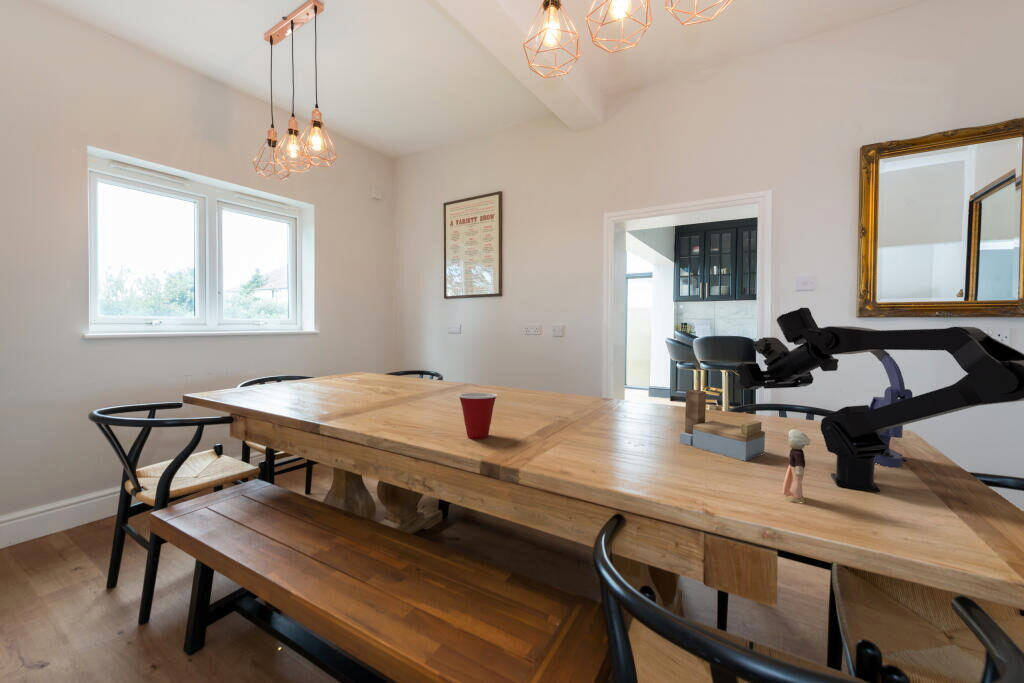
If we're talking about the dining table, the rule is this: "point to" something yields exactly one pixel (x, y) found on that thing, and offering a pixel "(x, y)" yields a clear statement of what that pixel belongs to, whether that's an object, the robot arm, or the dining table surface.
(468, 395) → the plastic cup
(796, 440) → the grandmother figurine
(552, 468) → the dining table surface
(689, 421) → the brown wooden block
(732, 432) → the lid
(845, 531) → the dining table surface
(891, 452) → the hand press
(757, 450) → the grey storage box
